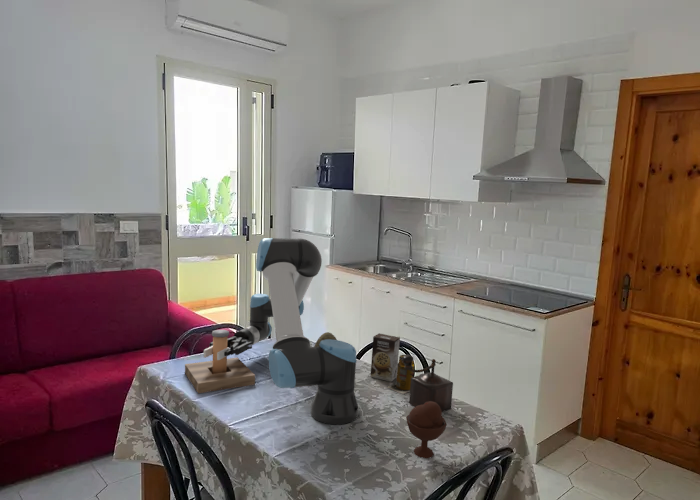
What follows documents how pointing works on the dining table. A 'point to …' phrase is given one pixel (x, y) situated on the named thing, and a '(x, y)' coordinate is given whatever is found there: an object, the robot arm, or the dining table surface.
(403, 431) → the dining table surface
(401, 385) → the condiment
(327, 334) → the decorative egg
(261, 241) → the robot arm
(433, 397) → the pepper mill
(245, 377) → the walnut block
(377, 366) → the cookie box
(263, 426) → the dining table surface
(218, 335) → the peg
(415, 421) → the ice cream bowl
